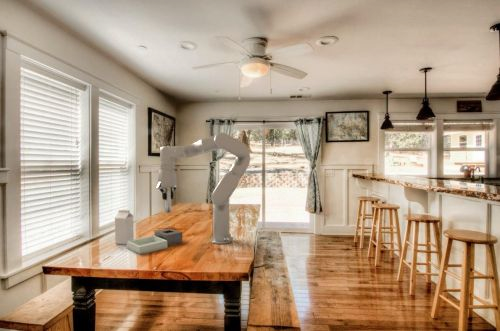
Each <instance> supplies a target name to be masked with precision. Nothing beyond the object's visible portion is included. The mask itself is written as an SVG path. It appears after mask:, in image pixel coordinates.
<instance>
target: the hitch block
mask: <svg viewBox="0 0 500 331" xmlns="http://www.w3.org/2000/svg"><path fill="white" fill-rule="evenodd" d="M153 232H154V235H153V236H156V237H159V238H162V239H164V240H167V247H169V246H174V245H178V244H181V243H183V232H182V231H180V230H178V229H177V230H176V229H173V228H170V227H169V228H164V229H160V230H154V231H153Z"/></svg>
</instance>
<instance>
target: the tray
mask: <svg viewBox="0 0 500 331" xmlns="http://www.w3.org/2000/svg"><path fill="white" fill-rule="evenodd" d="M126 249H127V250H129V251H131V252H132V253H135V254H137V255H139V256H141V255H145V254H148V253H153V252H156V251H160V250H165V249H168V246H167V240H164V239H162V238H159V237H156V236H155V235H149V236H144V237H140V238H134V240H130V241H127V244H126Z"/></svg>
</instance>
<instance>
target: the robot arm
mask: <svg viewBox="0 0 500 331" xmlns="http://www.w3.org/2000/svg"><path fill="white" fill-rule="evenodd" d="M248 148H249V147H248V146H247V144H245V142H243V141H241V140H239V139H236V138H235V137H233V136H231V135H229V134H228V133H225V132H218V133H217V134H216V135H215V134H214V135H211V136H208V137H204V138H200V139H199V140H198V141H195V142H194V143H191V144H187V145H184V146H183V145H175V146H161V147H160V148H159V154H160V155H159V156H160V157H159V158H160V159H159V160H160V161H159V162H160V169H159V170H158V176H157V186H156V189H157V190H158V191H160V192H161V193H162V195H161V196H162V197H161V198H162V200H163V201H165V200H166V199H167V195H166V187H171V200H174V193H175V191H176V189H177V188H178V187H179V185H178V184H179V183H178V181H177V174H176V170H175V169H176V167H177V166H176V165H175V160H176V159H177V160H185V159H188V158H193V157H195V156H199V155H205V154H209V153H212V152H215V151H217V150H218V151H219V150H224V151H226V152H228V153H230V154H232V155H234V156H235V160H234V162H233V163H232V165H231V167H230V168H229V170H228V171H227V172H226V173H225V174H224V175H223V176H222V177H221V179H220V180H219V182H218V183H217V185H216V186H215V189H213V191H212V192H211V196H210V200H211V202H212V226H213V227H212V232H213V233H212V235H213V236H212V237H211V238H210V243H212V244H214V245H215V244H216V245H217V244H218V245H224V244H230V243H231V242H233V239H234V237H233V236H232V235H231V233H230V198H231V196H232V195H233V194H234V192H235V190H236V189H237V188H238V186H239V184H240V181H241V179H242V177H243V176H244V175H245V173H246V171H247V170H248V167H249V166H250V162H251V154H250V151H249V149H248Z"/></svg>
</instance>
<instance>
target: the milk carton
mask: <svg viewBox="0 0 500 331" xmlns="http://www.w3.org/2000/svg"><path fill="white" fill-rule="evenodd" d="M130 211H131V210H128V209H119V210H118V213H117V214H116V215H115V217H114V234H115V235H114V238H115V239H114V241H115V242H114V243H115V244H116V245H127V241H130V240H135V238H134V237H135V236H134V235H135V234H134V215H133V214H132V213H131V212H130Z"/></svg>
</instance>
